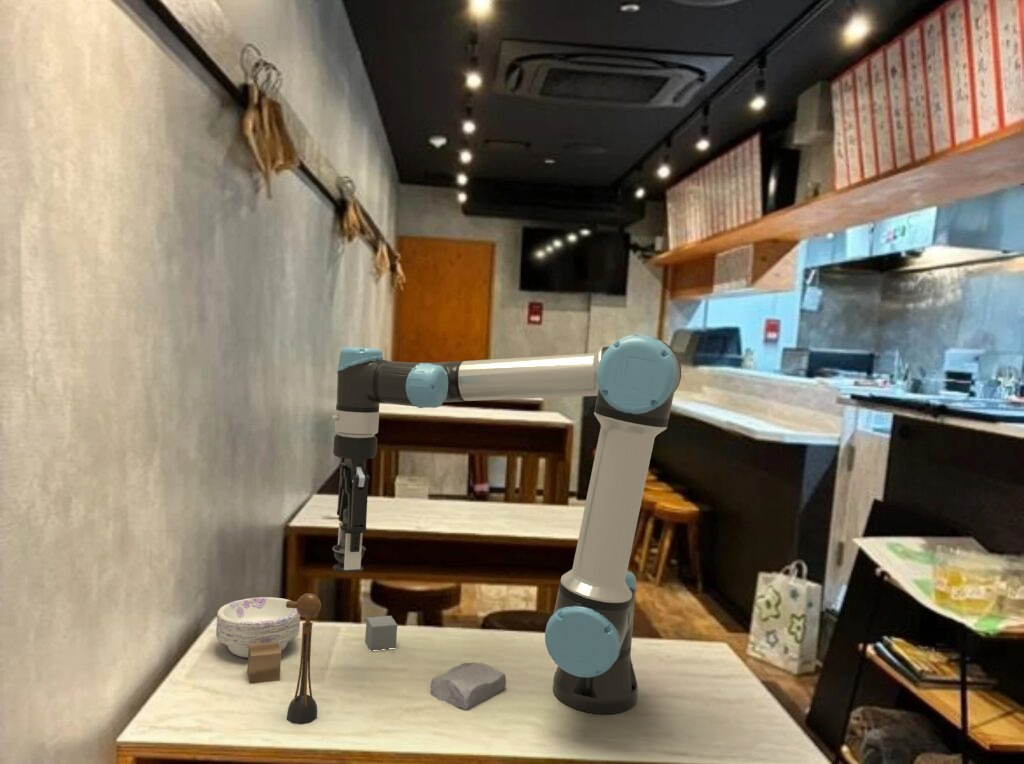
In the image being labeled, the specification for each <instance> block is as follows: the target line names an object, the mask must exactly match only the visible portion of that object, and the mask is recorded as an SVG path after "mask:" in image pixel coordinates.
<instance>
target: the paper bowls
mask: <svg viewBox="0 0 1024 764" xmlns="http://www.w3.org/2000/svg"><path fill="white" fill-rule="evenodd" d="M287 601H292V600H291V599H287V598H280V597H272V596H262V597H261V596H260V597H251V598H243V599H239V600H234V601H230V602H228V603H226V604H223V606H221V607H220V608H219V609H218V611H217V612H216V628H215V630H216V634H215V635H216V640H217V641H218V642H220V644H224V645H225V646H227V648H228V650H229V651H230V652H231V653H232V654H233V655H234V656H235V655H236V656H238V657H241V658H247V659H248V649H249V644H260V643H271V642H278V644H279V647H280V651H281V652H282V651H283V650H284V649H285V648H286V647H287V645H288V643H289V642H291V641H293V640H294V639H295V638H297V637H298V636H299V634H300V630H301V629H300V626H301V616H300V615H299V613H298V612H297V609H295V608H287V607H286V603H287Z"/></svg>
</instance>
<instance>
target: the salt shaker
mask: <svg viewBox="0 0 1024 764" xmlns="http://www.w3.org/2000/svg"><path fill="white" fill-rule="evenodd" d="M340 528H341V529H342V537H341V541H340V544H339V545H338V544H336V545H333V547H332V551H333V557H334V559H335V560H336V561H337V562H338V563H336V564H334V565H333V566H332V569H333V571H335V572H338V573H345V574H346V573H348V574H349V573H350V574H353V573H357V572H361V571H363V570H364V565H361V567H360V569H354V570H344V560H345V543H346V534H344V530H348V507H347V508H345V509H344V511H343V525H342V526H341V527H340ZM366 550H367V547H365V546H364V545H362V550H361V560H362V559H363V557H364V555H365V551H366Z"/></svg>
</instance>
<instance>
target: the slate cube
mask: <svg viewBox="0 0 1024 764" xmlns="http://www.w3.org/2000/svg"><path fill="white" fill-rule="evenodd" d="M365 621H366V623H365V640H364V642H365V644H366V645H368V646H367V648H368V647H369V648H368V649H370V650H371V651H372V652H374V651H373V650H382V649H389V648H396V649H397V636H398V635H397V632H398V623H397V622H396V621H395V619H394V618H393V616H392V615H384V616H373V617H372V616H371V617H366V619H365ZM370 650H369V651H370ZM371 651H370V652H371ZM382 651H383V650H382Z"/></svg>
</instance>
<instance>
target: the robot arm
mask: <svg viewBox="0 0 1024 764" xmlns="http://www.w3.org/2000/svg"><path fill="white" fill-rule="evenodd" d="M678 356H679V355H677V352H675V349H673V348H672V347H671V346H670V345H669V344H668V343H666V342H664V341H662V340H660V339H658V338H657V337H654V336H649V335H647V334H644V335H643V334H632V335H627V336H623V337H622V338H619V339H617V340H616V341H615V342H614V343H612V344H611V345H610V346H601V347H600V348H599V349H598V350H597V352H595V353H594V352H593V353H590V352H589V353H576V354H575V353H574V354H562V355H561V354H560V355H557V354H556V355H545V356H543V355H541V356H528V357H512V358H509V357H508V358H495V359H494V358H493V359H492V358H491V359H479V360H478V359H475V360H464V361H457V360H456V361H441V362H412V361H411V362H410V361H409V362H408V361H393V360H391V361H390V360H386V359H384V356H383V351H382V350H381V349H380V348H373V347H358V346H345V347H343V348H342V349H341V350H340V351H339V358H338V366H337V369H336V374H337V383H336V386H337V387H336V404H335V409H336V411H335V414H333V415H332V416H331V420H332V421H334V422H335V424H334V431H335V432H336V433H337V434H335V435H334V436H333V449H332V450H333V451H332V454H333V455H334V456H335V457H337V458H341V459H343V460H344V461H343V462H340V463H339V482H338V497H337V509H336V515H337V518H338V521H339V523H338V535H337V536H338V537H337V545H339V544H340V541H341V537H342V529H341V528H340V527H341V526H342V525H343V511H344V509H345V508H347V507H348V530H344V534H346V543H345V560H344V570H354V569H360V567H361V564H362V559H361V550H362V546H363V533H366V531H367V516H368V515H367V514H368V494H369V493H368V492H369V483H370V478H371V477H370V475H369V474H368V468H366V467H365V465H366V463H365V462H366V460H367V459H373V458H375V457H376V455H377V453H378V451H377V449H378V438H377V436H376V434H378V433H379V426H380V425H379V422H380V404H389V405H399V406H407V407H408V406H409V407H416V408H417V409H418V408H419V409H424V408H426V409H427V408H428V409H429V408H430V409H437V408H439V407H441V406H442V405H443V403H453V402H456V403H457V402H467V401H468V402H472V401H474V402H475V401H496V400H498V401H500V400H522V399H525V400H526V399H528V400H529V399H545V398H546V399H551V398H552V399H553V398H575V397H577V398H578V397H596V401H595V405H594V406H595V407H594V411H593V414H594V417H596V419H597V421H598V422H599V424H600V429H599V435H598V439H597V440H598V441H597V444H596V448H595V449H596V450H595V453H594V458H593V459H594V460H593V464H592V470H591V475H590V478H589V479H590V480H589V484H588V490H587V494H586V499H585V504H584V509H583V514H582V520H581V524H580V530H579V535H578V539H577V545H576V549H575V553H574V559H573V563H572V564H573V565H572V569H570V570H568V571H567V572H565V573H564V574H562V576H561V578H560V582H559V586H558V589H557V590H558V591H557V595H556V601H555V606H554V610H553V614H552V615H551V616H550V617H549V619H548V621H547V623H546V627H545V631H544V641H545V647H546V650H547V652H548V655H549V656H550V657H551V659H552V660H553V661H554V663H555V664H556V666H557V668H556V671H555V672H554V675H553V681H552V682H553V684H552V692H553V694H554V696H555V697H556V699H558V700H559V701H560V702H562V703H563V704H565V705H566V706H568V707H571V708H573V709H576V710H579V711H582V712H587V713H593V714H606V715H607V714H618V713H622V712H625V711H627V710H630V709H632V708H633V707H634V706H635V705H636V703H637V701H638V692H639V690H638V687H639V686H638V681H637V677H636V673H635V669H634V665H633V661H632V656H631V655H632V652H631V651H632V641H633V640H632V639H633V627H634V616H635V615H634V613H635V612H634V611H635V604H636V603H635V601H636V600H635V599H636V592H638V591H637V590H638V588H637V578H636V575H635V574H634V573H633V572H632V571H630V570H628V568H629V564H630V563H629V562H630V558H631V554H632V550H633V549H632V548H633V545H634V539H635V534H636V531H637V530H636V529H637V525H638V520H639V516H640V511H641V506H642V500H643V496H644V490H645V486H646V481H647V476H648V473H649V468H650V467H649V466H650V461H651V457H652V452H653V448H654V445H655V444H654V443H655V438H656V437H657V435H659V434H660V433H662V432H665V430H667V429H668V425H669V419H670V415H671V411H672V407H673V400H674V396H675V393H676V391H677V390H678V387H679V386H680V383H681V380H682V366H681V360H680V359H679V357H678Z"/></svg>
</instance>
